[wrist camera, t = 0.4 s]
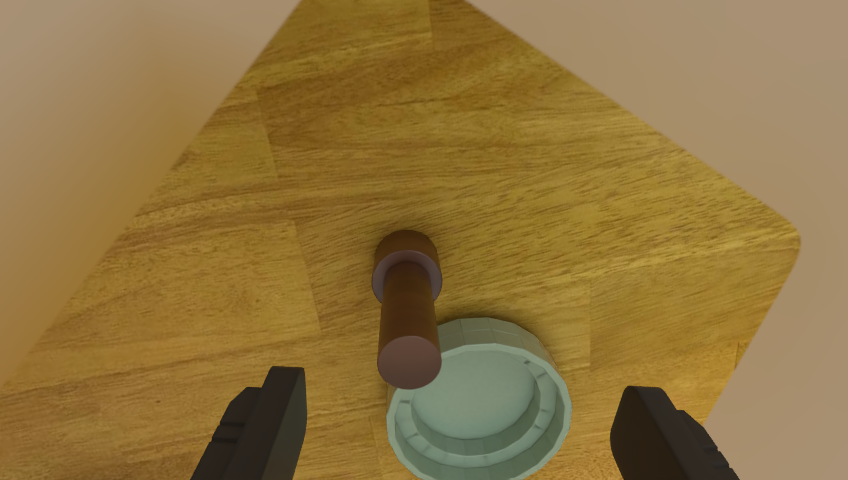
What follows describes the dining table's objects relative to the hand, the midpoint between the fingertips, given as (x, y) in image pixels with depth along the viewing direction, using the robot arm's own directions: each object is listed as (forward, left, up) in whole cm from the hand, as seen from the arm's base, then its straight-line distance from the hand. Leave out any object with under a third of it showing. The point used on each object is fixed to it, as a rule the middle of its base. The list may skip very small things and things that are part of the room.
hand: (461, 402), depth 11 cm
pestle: (+6, -1, -23) cm, 23 cm away
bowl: (+18, +4, -23) cm, 29 cm away
